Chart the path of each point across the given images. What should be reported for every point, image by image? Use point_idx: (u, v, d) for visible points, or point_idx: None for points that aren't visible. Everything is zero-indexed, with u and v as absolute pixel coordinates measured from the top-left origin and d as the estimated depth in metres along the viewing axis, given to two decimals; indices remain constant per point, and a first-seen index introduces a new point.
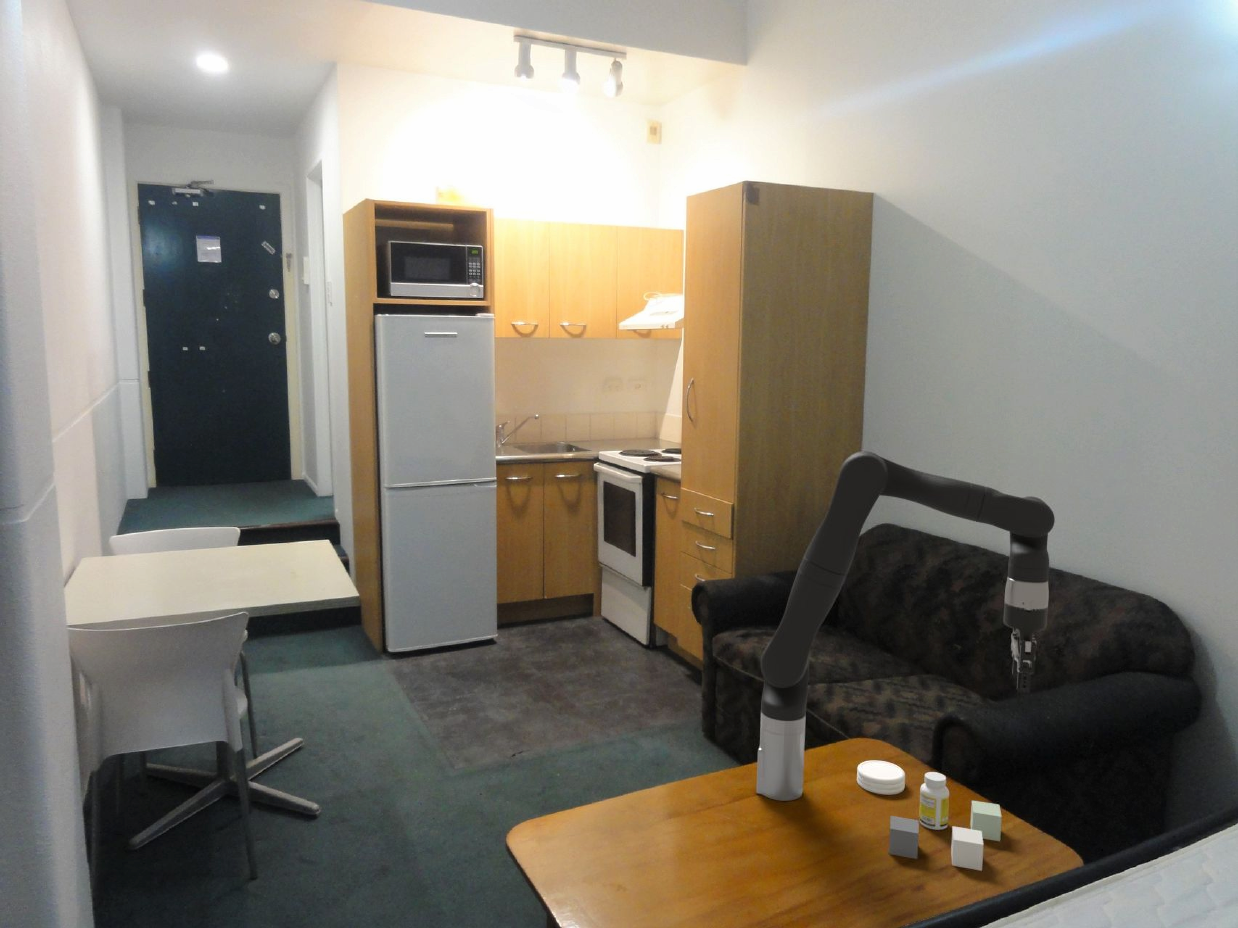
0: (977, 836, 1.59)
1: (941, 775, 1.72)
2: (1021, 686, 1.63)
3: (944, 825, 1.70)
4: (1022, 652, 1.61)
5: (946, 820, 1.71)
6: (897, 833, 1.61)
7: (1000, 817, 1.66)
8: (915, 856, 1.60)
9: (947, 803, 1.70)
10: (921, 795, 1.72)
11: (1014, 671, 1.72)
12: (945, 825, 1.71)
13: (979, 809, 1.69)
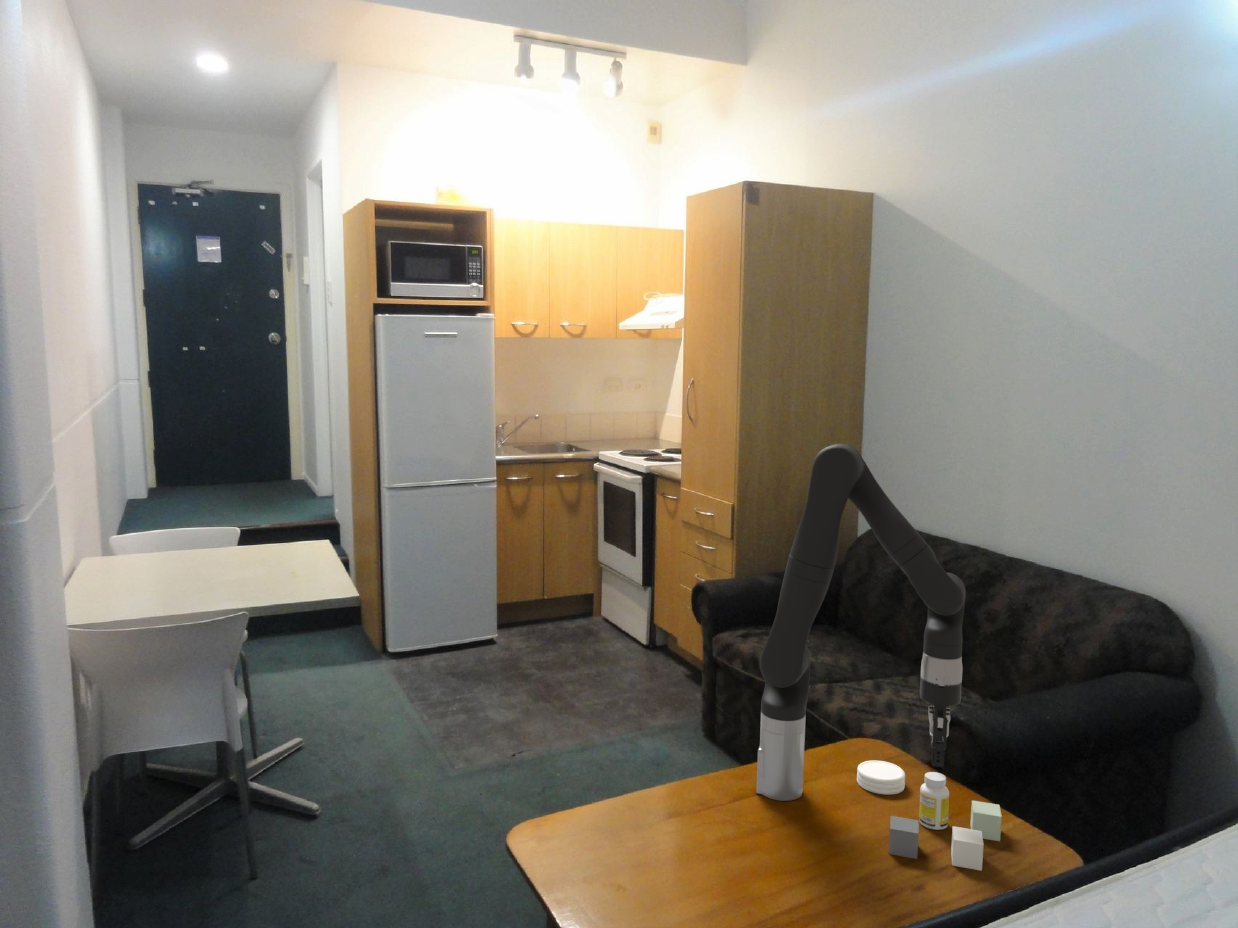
0: (977, 836, 1.59)
1: (941, 775, 1.72)
2: (935, 760, 1.66)
3: (944, 825, 1.70)
4: (934, 728, 1.64)
5: (946, 820, 1.71)
6: (897, 833, 1.61)
7: (1000, 817, 1.66)
8: (915, 856, 1.60)
9: (947, 803, 1.70)
10: (921, 795, 1.72)
11: None
12: (945, 825, 1.71)
13: (980, 809, 1.69)
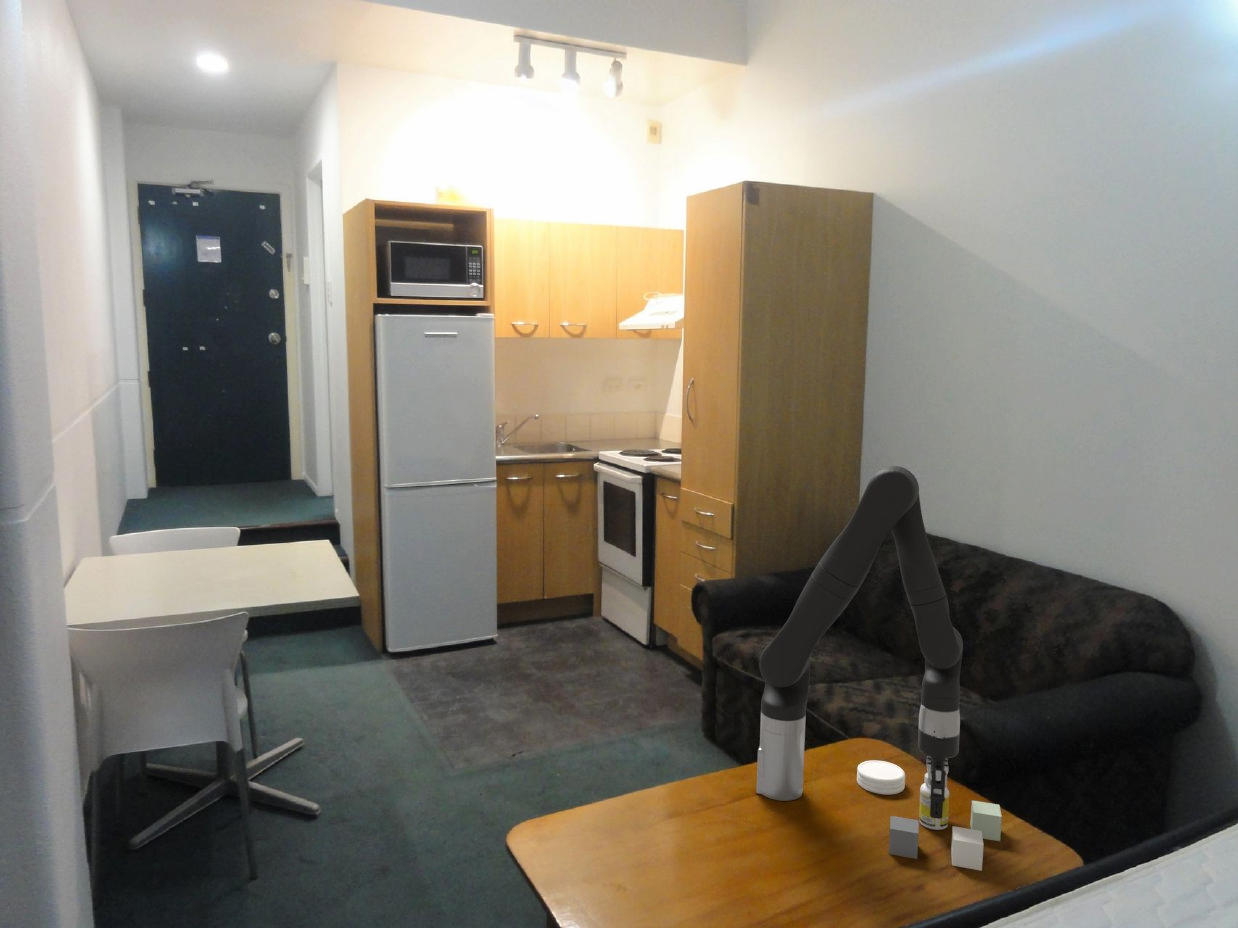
0: (977, 836, 1.59)
1: None
2: (933, 812, 1.67)
3: (944, 825, 1.70)
4: (933, 781, 1.65)
5: (946, 820, 1.71)
6: (897, 833, 1.61)
7: (1000, 817, 1.66)
8: (915, 856, 1.60)
9: (947, 803, 1.70)
10: (921, 795, 1.72)
11: None
12: (945, 825, 1.71)
13: (980, 809, 1.69)
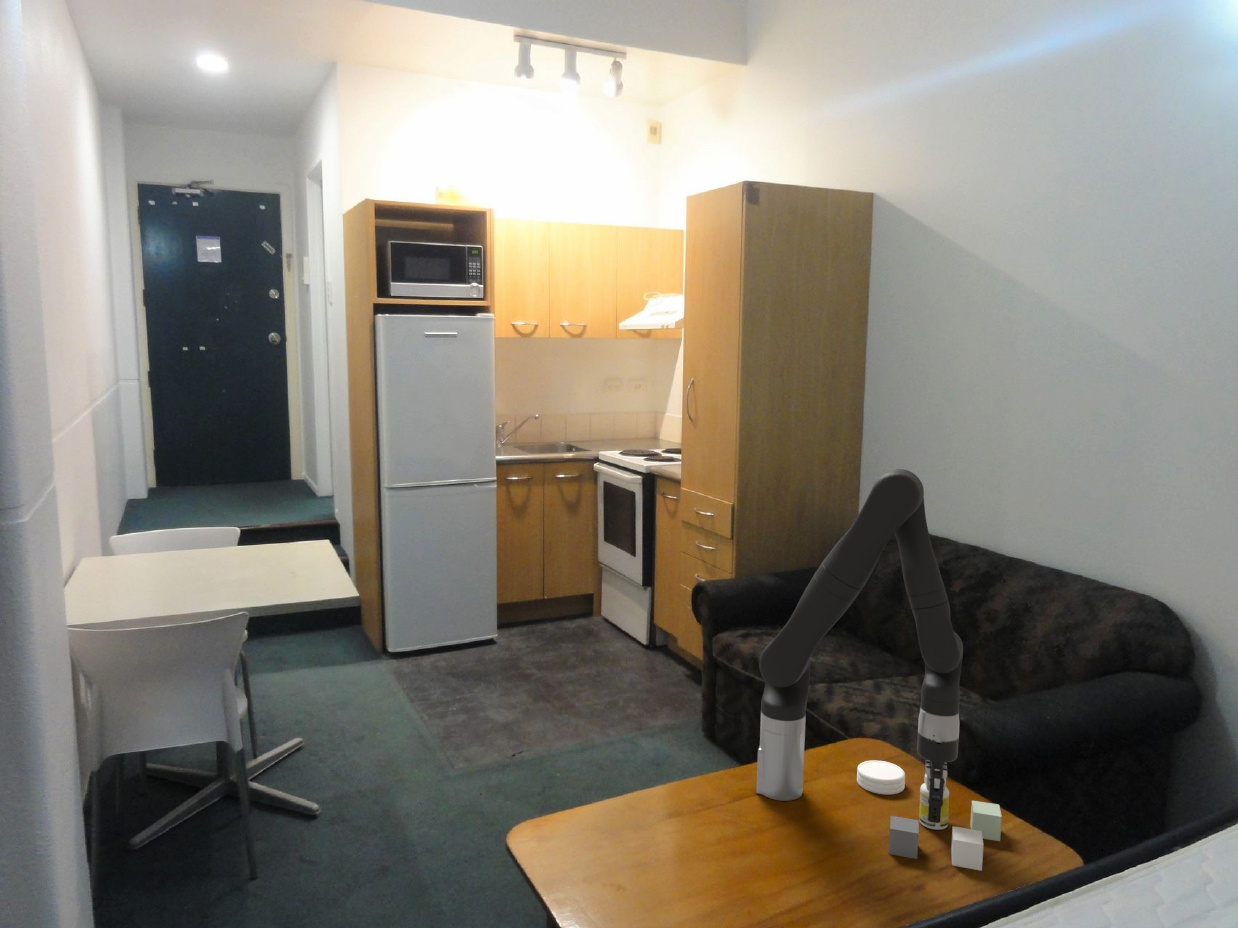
0: (977, 836, 1.59)
1: None
2: (931, 816, 1.69)
3: (944, 825, 1.70)
4: (931, 788, 1.66)
5: (946, 820, 1.71)
6: (897, 833, 1.61)
7: (1000, 817, 1.66)
8: (915, 856, 1.60)
9: (947, 803, 1.70)
10: (921, 795, 1.72)
11: None
12: (945, 825, 1.71)
13: (980, 809, 1.69)
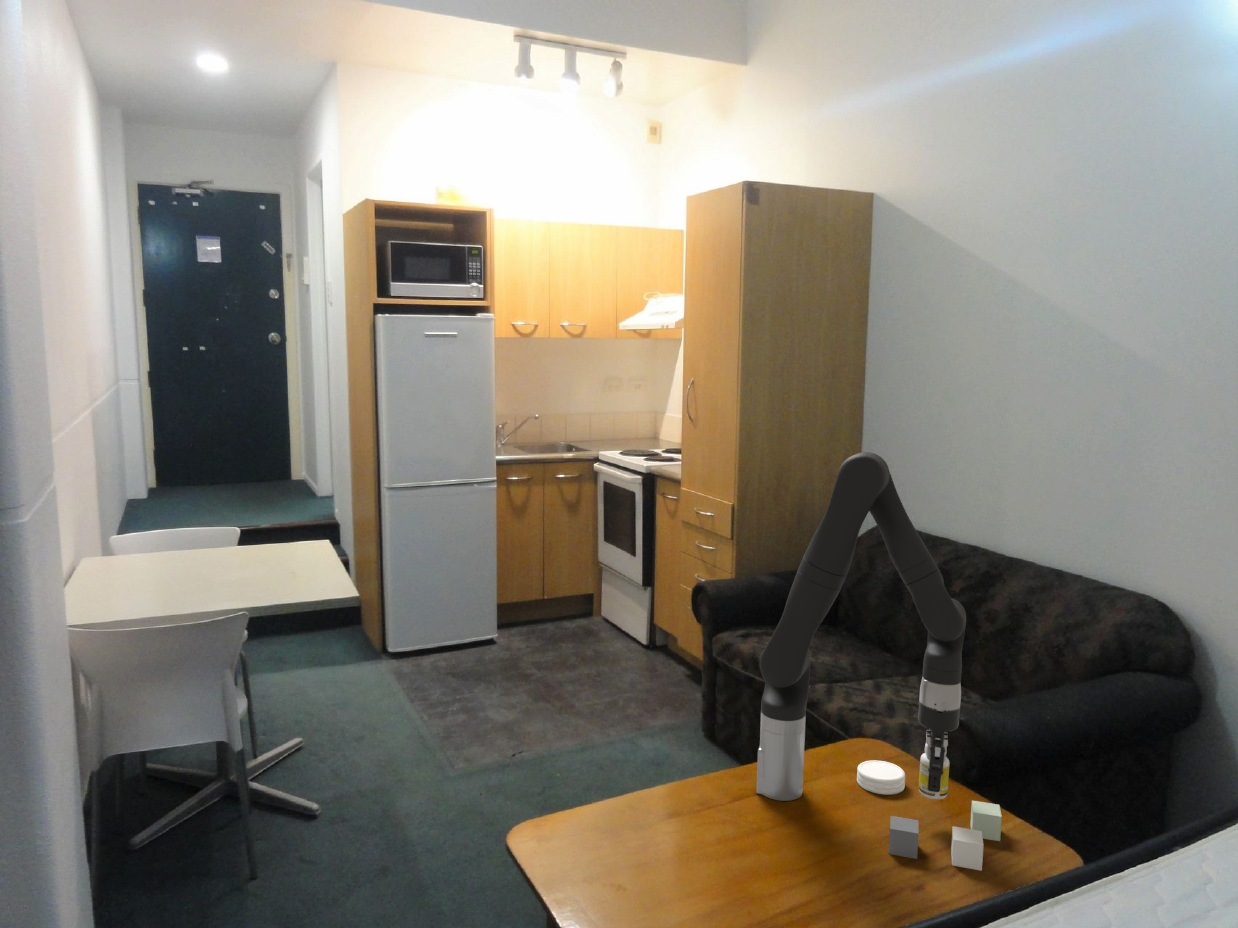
0: (977, 836, 1.59)
1: None
2: (931, 786, 1.68)
3: (943, 794, 1.70)
4: (932, 757, 1.65)
5: (946, 789, 1.70)
6: (897, 833, 1.61)
7: (1000, 817, 1.66)
8: (915, 856, 1.60)
9: (947, 773, 1.70)
10: (921, 764, 1.71)
11: None
12: (945, 795, 1.70)
13: (980, 809, 1.69)
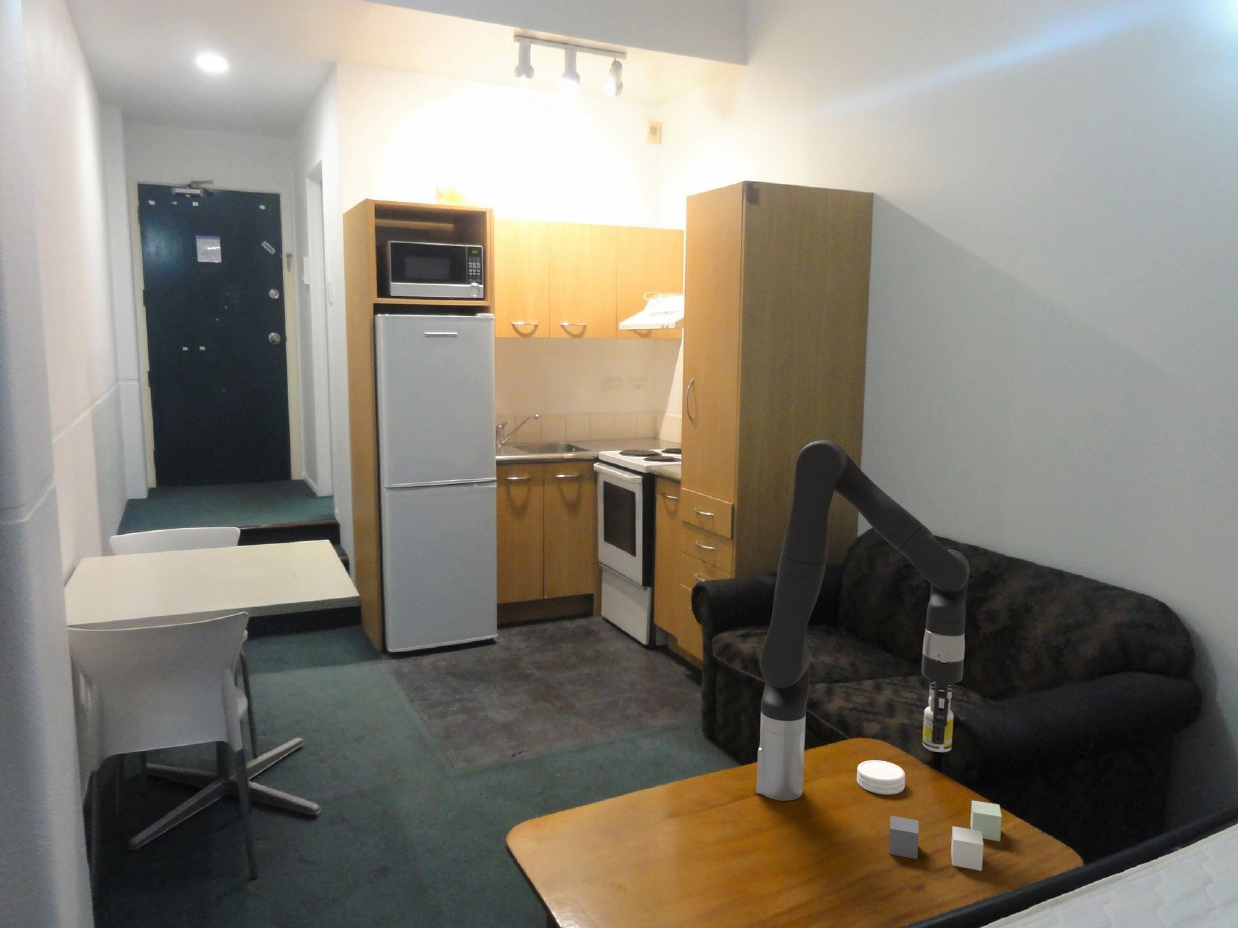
0: (977, 836, 1.59)
1: None
2: (935, 738, 1.67)
3: (947, 747, 1.69)
4: (935, 708, 1.64)
5: (950, 742, 1.69)
6: (897, 833, 1.61)
7: (1000, 817, 1.66)
8: (915, 856, 1.60)
9: (951, 725, 1.69)
10: (925, 718, 1.70)
11: None
12: (949, 747, 1.69)
13: (980, 809, 1.69)
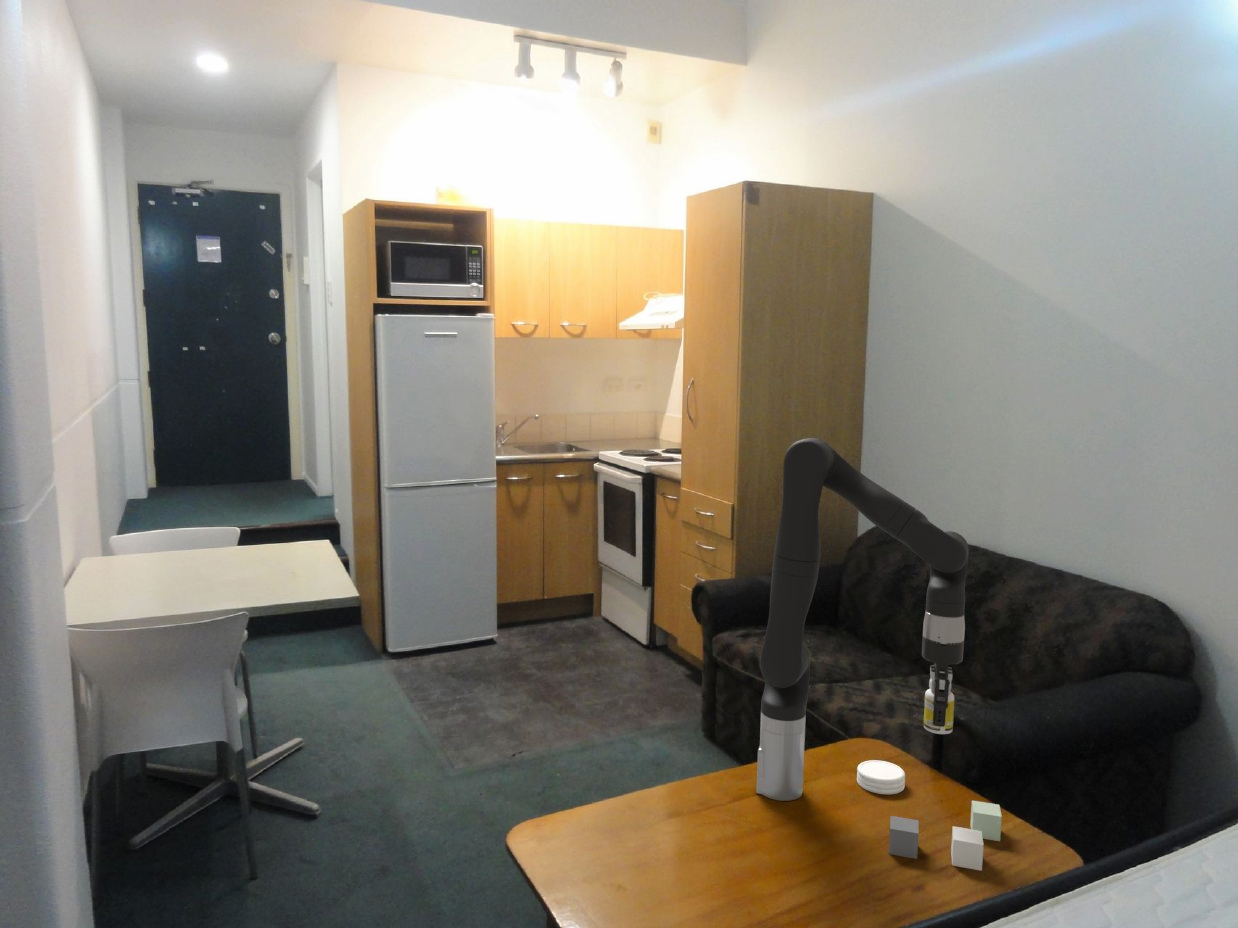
0: (977, 836, 1.59)
1: None
2: (936, 720, 1.67)
3: (949, 729, 1.68)
4: (936, 690, 1.64)
5: (951, 724, 1.69)
6: (897, 833, 1.61)
7: (1000, 817, 1.66)
8: (915, 856, 1.60)
9: (952, 707, 1.69)
10: (926, 700, 1.70)
11: None
12: (950, 729, 1.69)
13: (980, 809, 1.69)
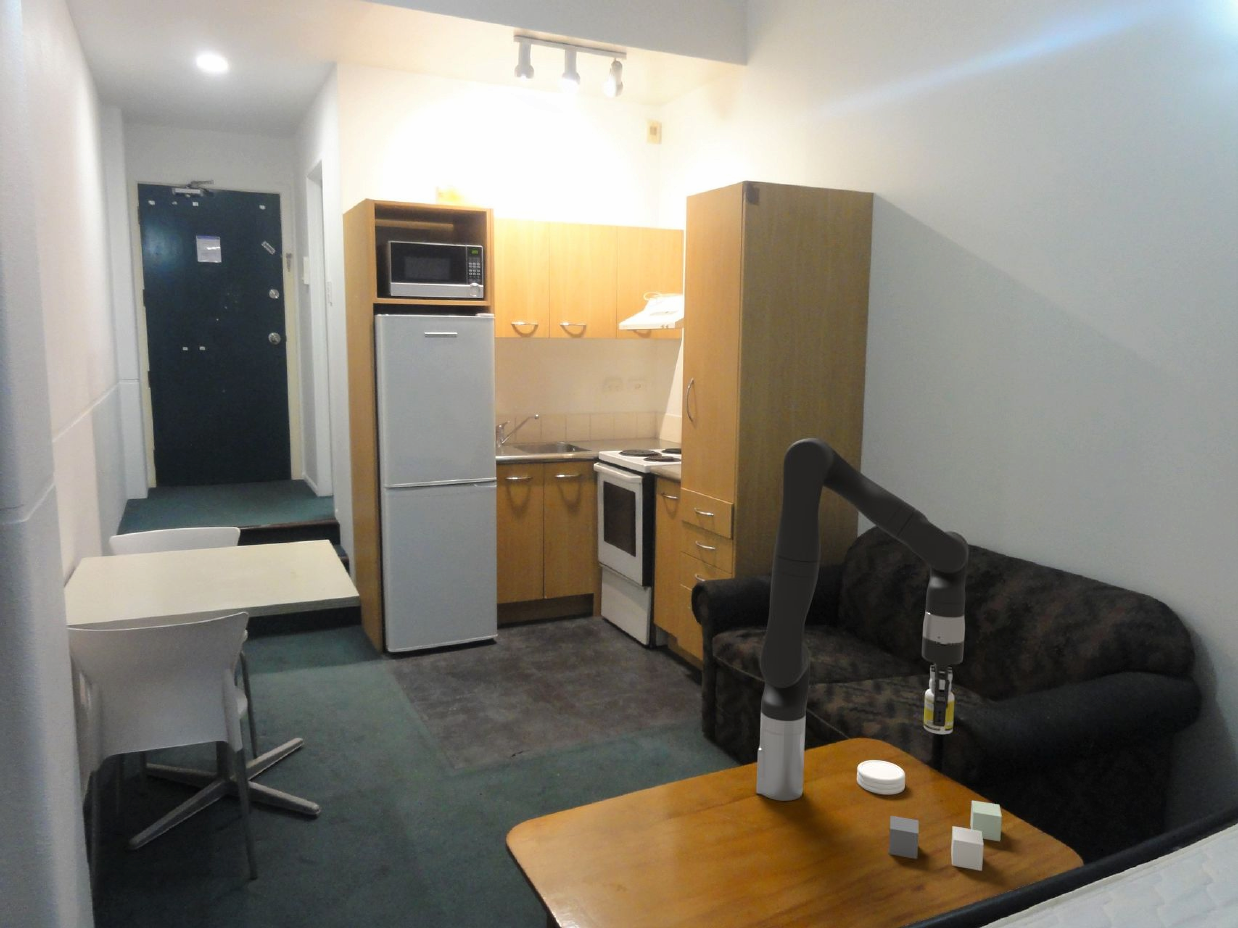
0: (977, 836, 1.59)
1: None
2: (936, 720, 1.67)
3: (949, 729, 1.68)
4: (936, 690, 1.64)
5: (951, 724, 1.69)
6: (897, 833, 1.61)
7: (1000, 817, 1.66)
8: (915, 856, 1.60)
9: (952, 707, 1.69)
10: (926, 700, 1.70)
11: None
12: (950, 729, 1.69)
13: (980, 809, 1.69)
